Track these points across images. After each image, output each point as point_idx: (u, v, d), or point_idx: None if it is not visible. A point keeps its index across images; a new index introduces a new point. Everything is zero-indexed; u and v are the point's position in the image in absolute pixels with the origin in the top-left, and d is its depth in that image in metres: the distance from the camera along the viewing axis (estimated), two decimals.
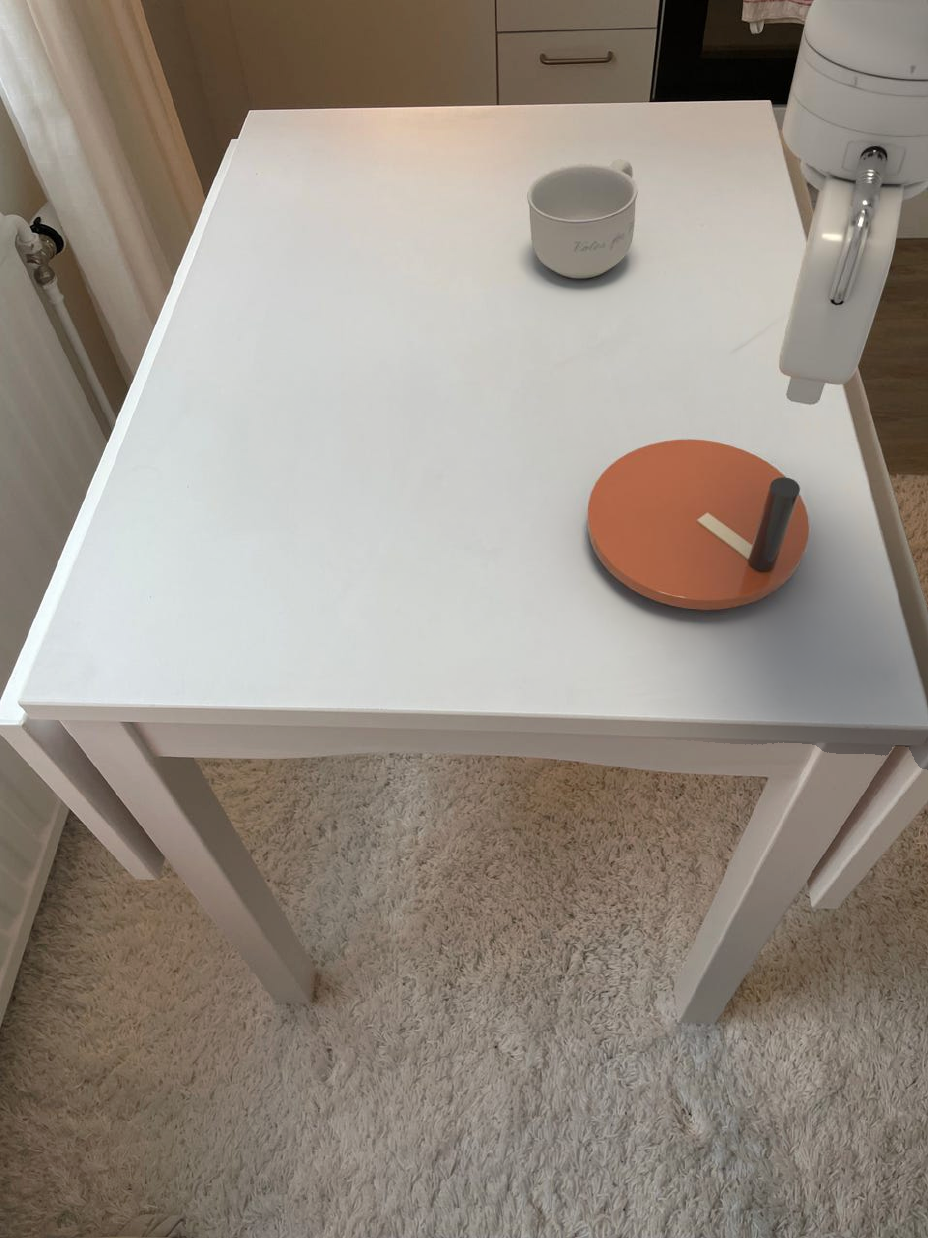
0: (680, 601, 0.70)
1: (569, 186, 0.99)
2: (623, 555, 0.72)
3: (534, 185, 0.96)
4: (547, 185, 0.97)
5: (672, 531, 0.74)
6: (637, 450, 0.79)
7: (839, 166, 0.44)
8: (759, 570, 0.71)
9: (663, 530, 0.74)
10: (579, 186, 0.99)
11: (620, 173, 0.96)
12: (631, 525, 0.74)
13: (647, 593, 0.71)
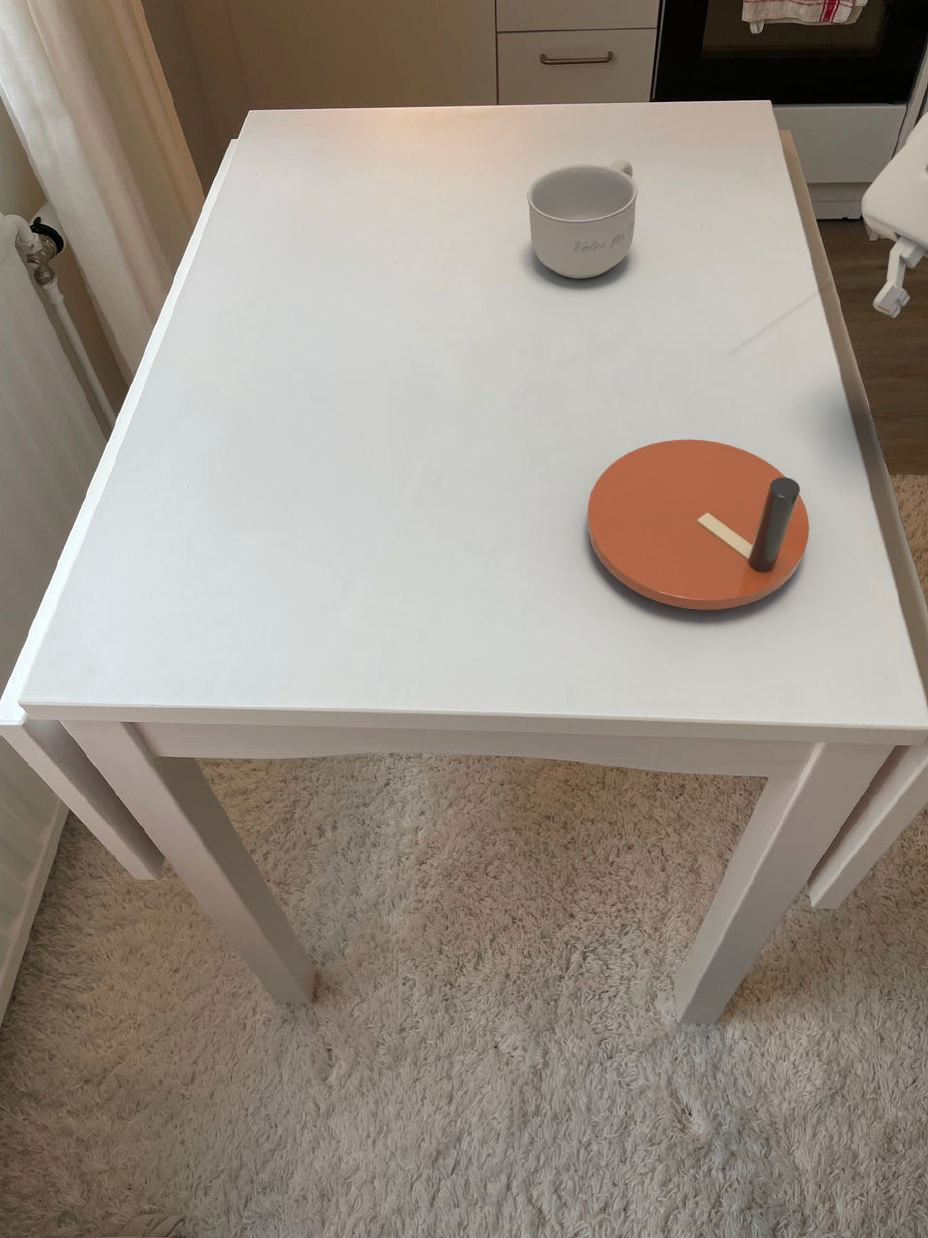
0: (680, 601, 0.70)
1: (569, 186, 0.99)
2: (623, 555, 0.72)
3: (534, 185, 0.96)
4: (547, 185, 0.97)
5: (672, 531, 0.74)
6: (637, 450, 0.79)
7: None
8: (759, 570, 0.71)
9: (663, 530, 0.74)
10: (579, 186, 0.99)
11: (620, 173, 0.96)
12: (631, 525, 0.74)
13: (647, 593, 0.71)
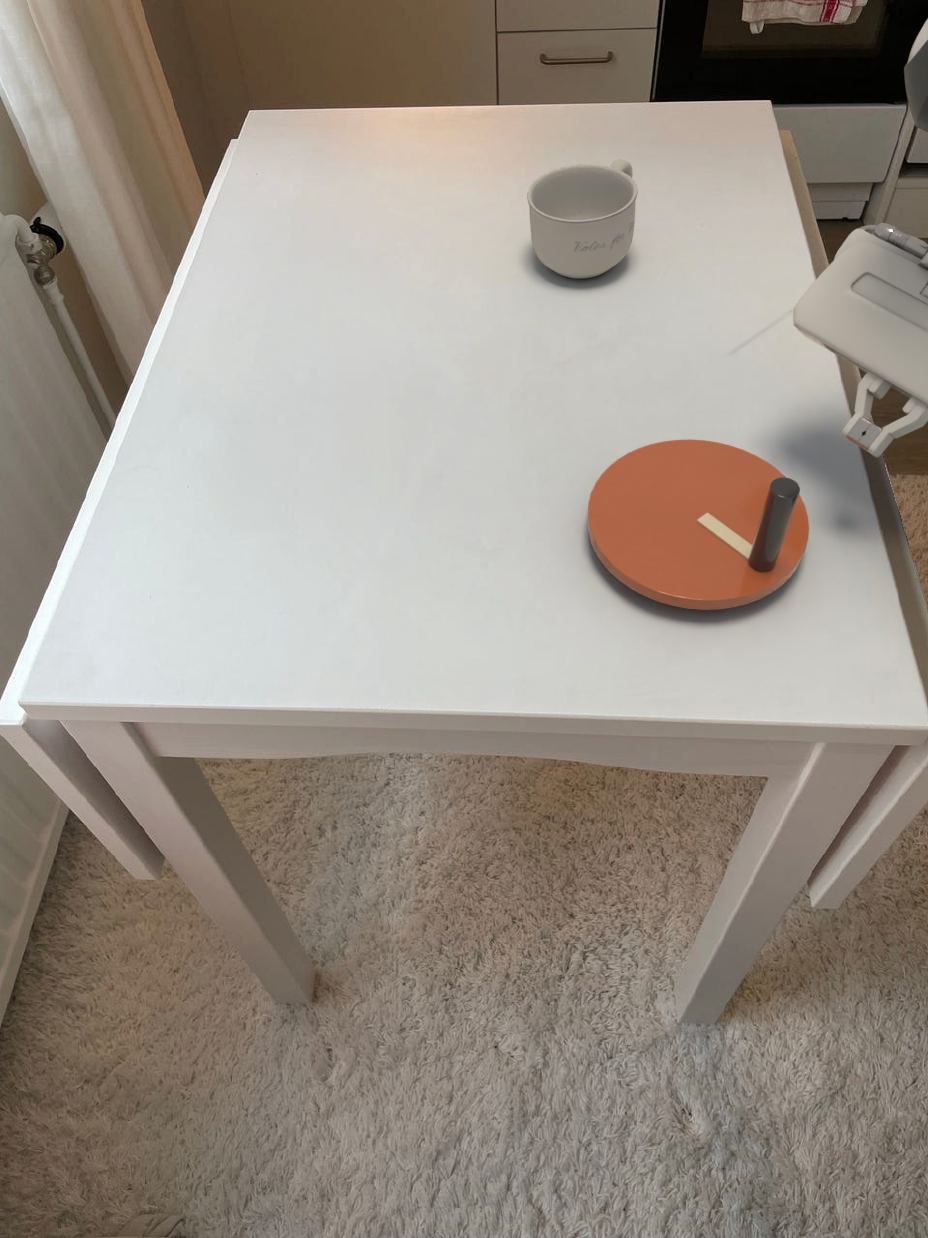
0: (680, 601, 0.70)
1: (569, 186, 0.99)
2: (623, 555, 0.72)
3: (534, 185, 0.96)
4: (547, 185, 0.97)
5: (672, 531, 0.74)
6: (637, 450, 0.79)
7: None
8: (759, 570, 0.71)
9: (663, 530, 0.74)
10: (579, 186, 0.99)
11: (620, 173, 0.96)
12: (631, 525, 0.74)
13: (647, 593, 0.71)
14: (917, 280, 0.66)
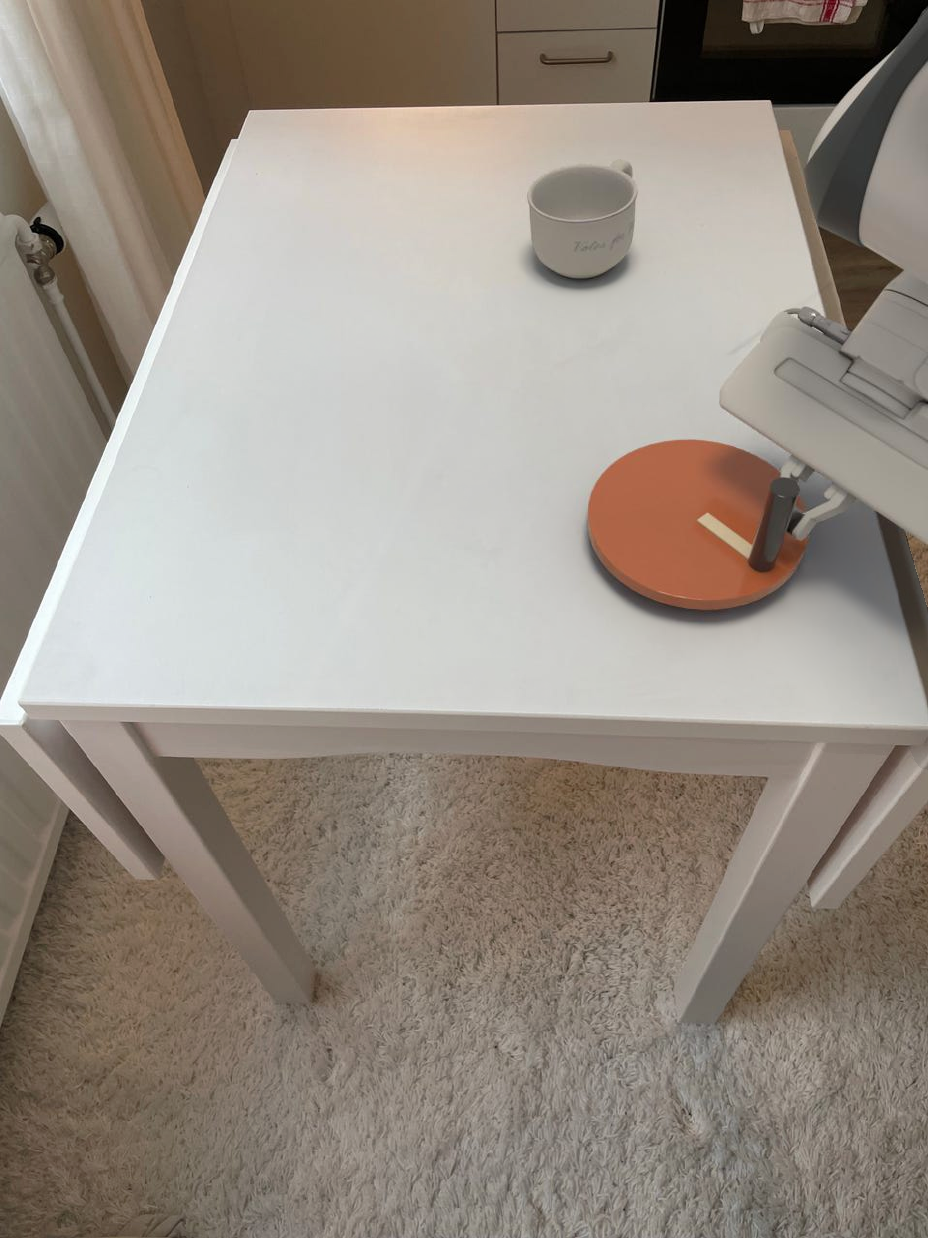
0: (680, 601, 0.70)
1: (569, 186, 0.99)
2: (623, 555, 0.72)
3: (534, 185, 0.96)
4: (547, 185, 0.97)
5: (672, 531, 0.74)
6: (637, 450, 0.79)
7: None
8: (759, 570, 0.71)
9: (663, 530, 0.74)
10: (579, 186, 0.99)
11: (620, 173, 0.96)
12: (631, 525, 0.74)
13: (647, 593, 0.71)
14: (837, 368, 0.66)
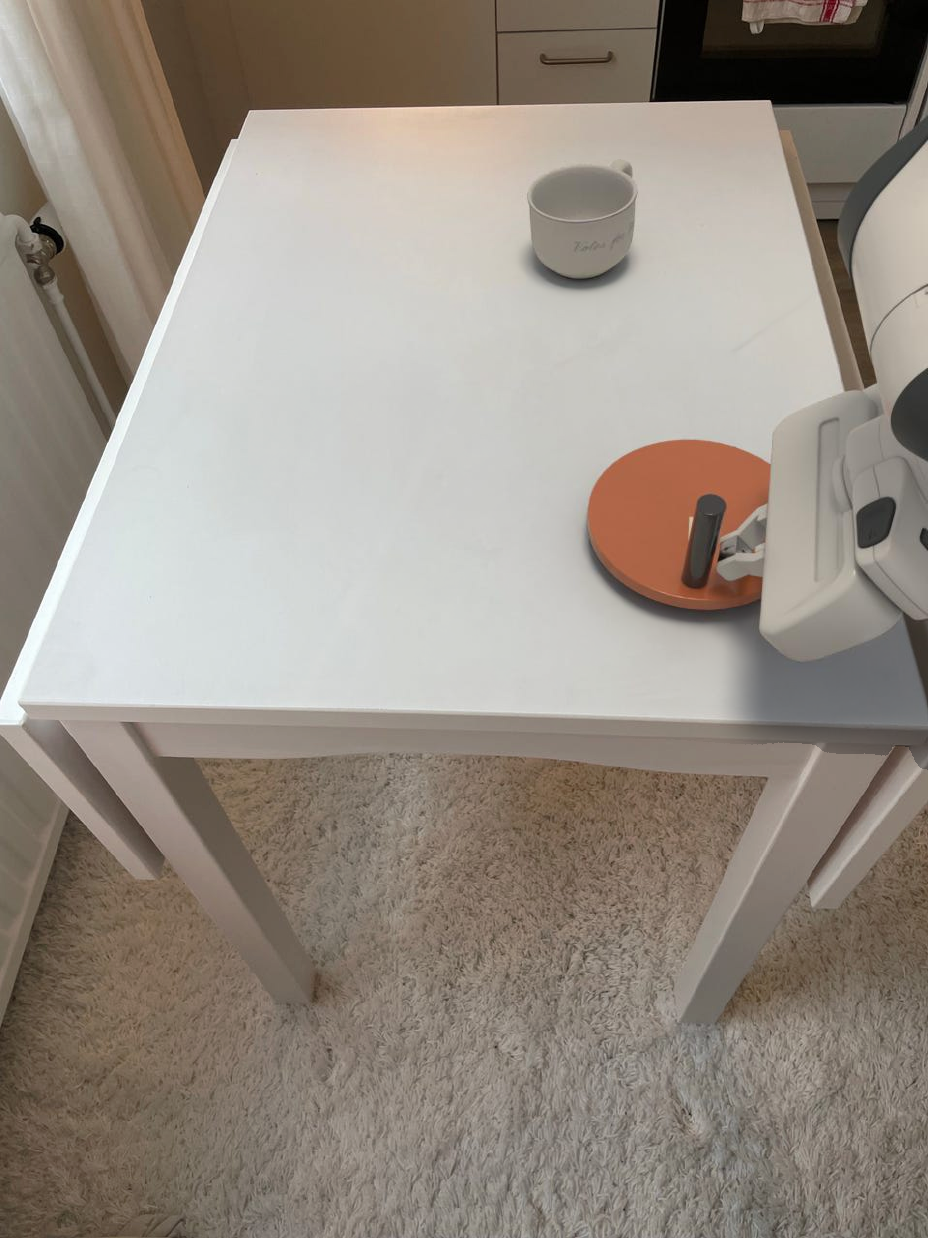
0: (602, 557, 0.73)
1: (569, 186, 0.99)
2: (604, 499, 0.76)
3: (534, 185, 0.96)
4: (547, 185, 0.97)
5: (661, 510, 0.75)
6: (719, 444, 0.79)
7: None
8: (682, 580, 0.70)
9: (656, 506, 0.75)
10: (579, 186, 0.99)
11: (620, 173, 0.96)
12: (638, 485, 0.77)
13: (590, 536, 0.75)
14: None
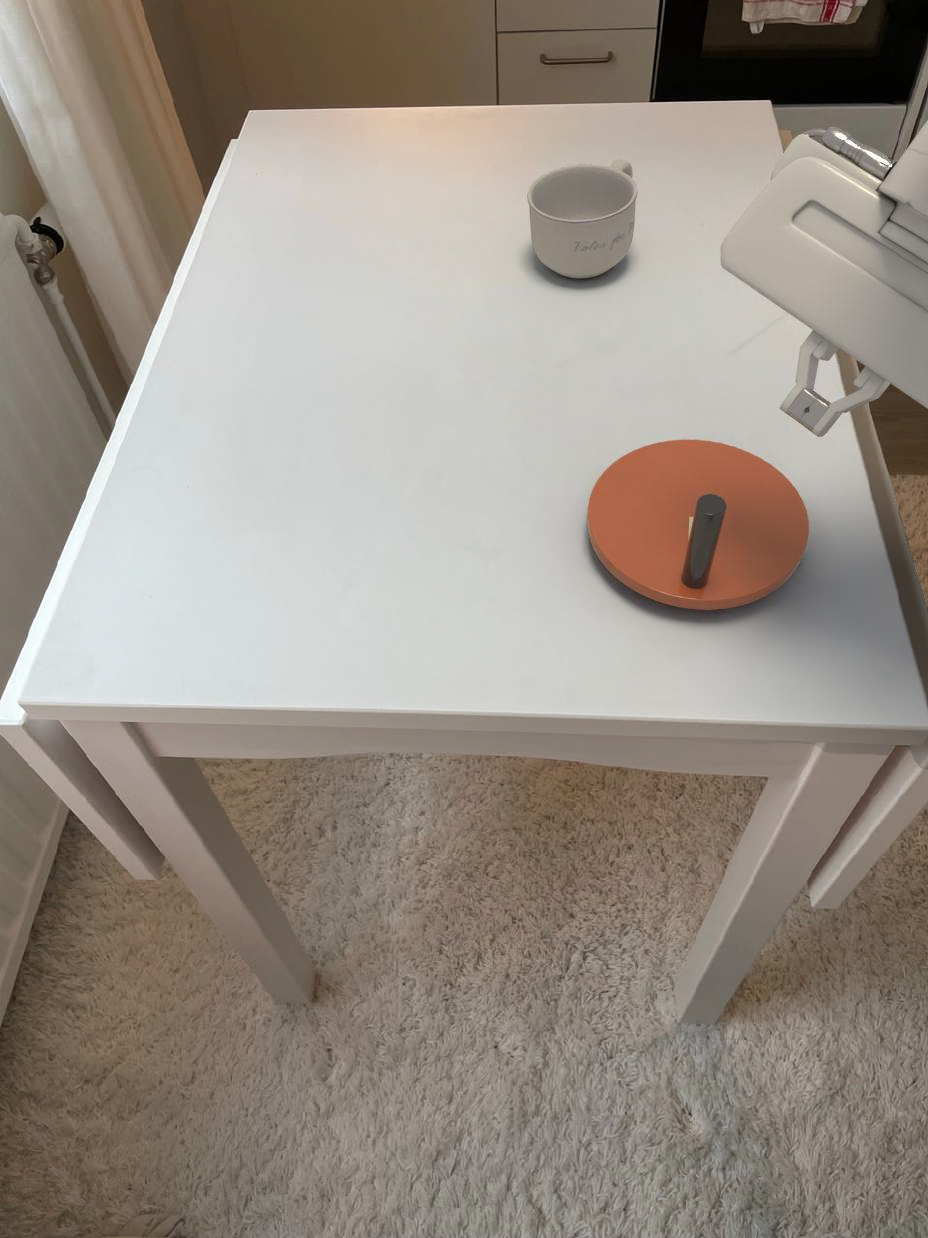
0: (602, 557, 0.73)
1: (569, 186, 0.99)
2: (604, 499, 0.76)
3: (534, 185, 0.96)
4: (547, 185, 0.97)
5: (661, 510, 0.75)
6: (719, 444, 0.79)
7: None
8: (682, 580, 0.70)
9: (656, 506, 0.75)
10: (579, 186, 0.99)
11: (620, 173, 0.96)
12: (638, 485, 0.77)
13: (590, 536, 0.75)
14: (875, 214, 0.51)
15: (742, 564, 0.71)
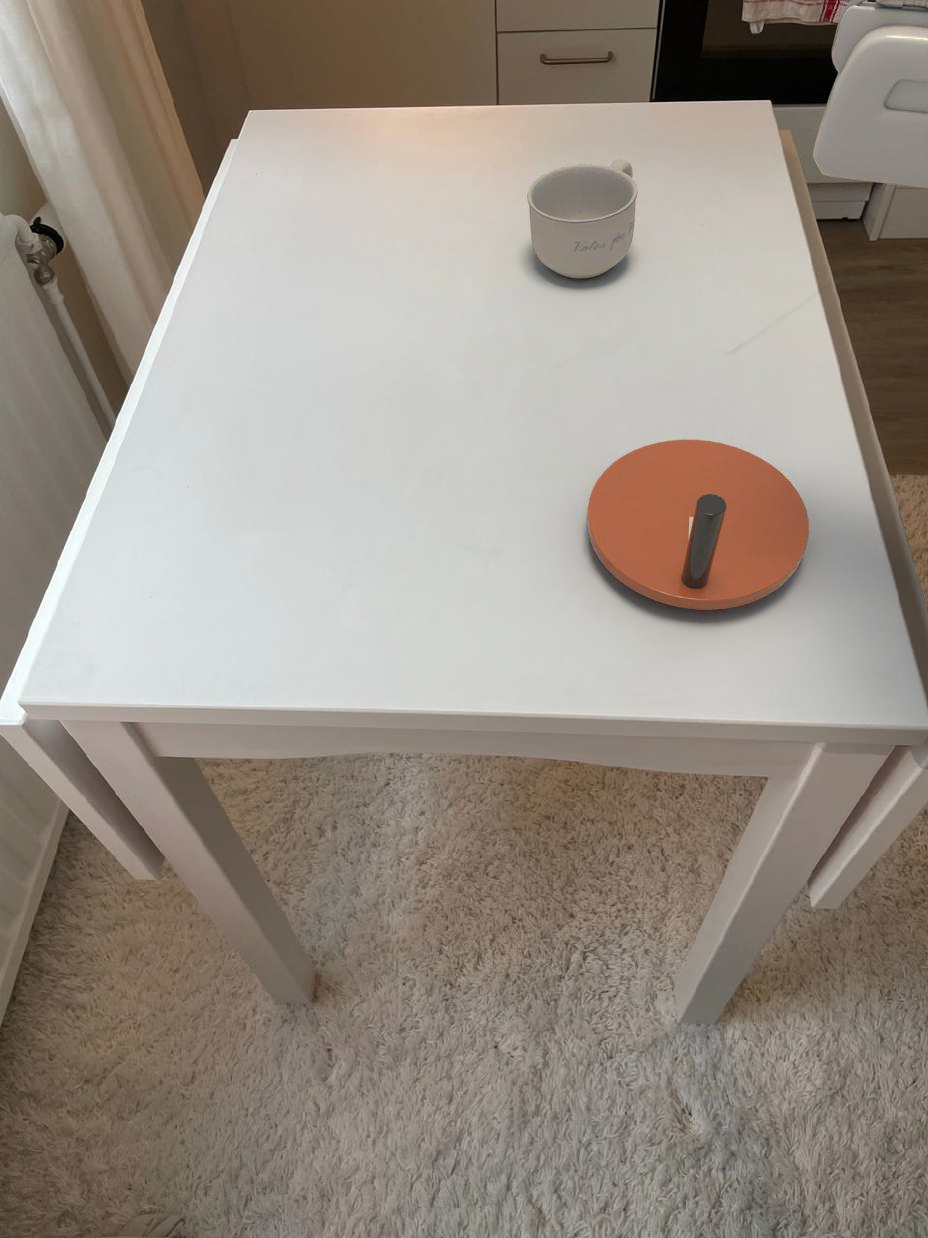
0: (602, 557, 0.73)
1: (569, 186, 0.99)
2: (604, 499, 0.76)
3: (534, 185, 0.96)
4: (547, 185, 0.97)
5: (661, 510, 0.75)
6: (719, 444, 0.79)
7: None
8: (682, 580, 0.70)
9: (656, 506, 0.75)
10: (579, 186, 0.99)
11: (620, 173, 0.96)
12: (638, 485, 0.77)
13: (590, 536, 0.75)
14: None
15: (742, 564, 0.71)
